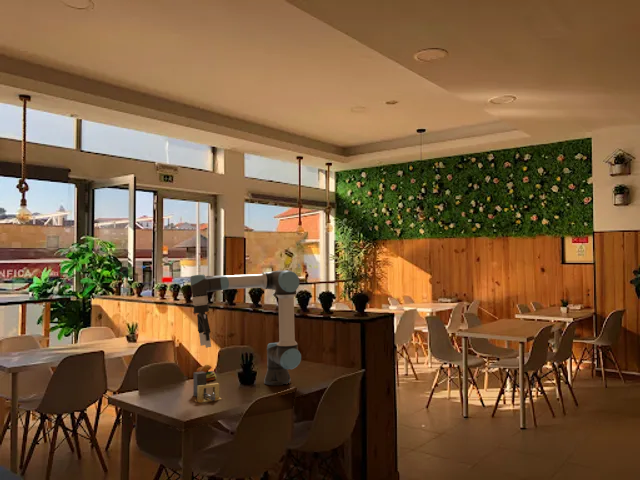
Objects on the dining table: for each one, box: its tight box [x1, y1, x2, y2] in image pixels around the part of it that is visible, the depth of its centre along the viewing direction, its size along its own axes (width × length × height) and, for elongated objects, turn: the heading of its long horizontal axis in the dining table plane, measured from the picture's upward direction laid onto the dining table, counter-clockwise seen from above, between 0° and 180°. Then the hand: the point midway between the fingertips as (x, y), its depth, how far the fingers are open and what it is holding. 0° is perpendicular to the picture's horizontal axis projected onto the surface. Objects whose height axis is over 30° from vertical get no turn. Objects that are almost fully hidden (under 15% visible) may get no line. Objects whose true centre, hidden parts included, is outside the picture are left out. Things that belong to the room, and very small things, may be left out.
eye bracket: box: [194, 382, 223, 404], centre depth 273 cm, size 12×6×8 cm, turn 125°
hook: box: [192, 371, 216, 402], centre depth 275 cm, size 5×21×12 cm, turn 35°
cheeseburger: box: [196, 364, 217, 382], centre depth 320 cm, size 10×11×10 cm
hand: (205, 346), depth 276 cm, fingers open, 13 cm apart
